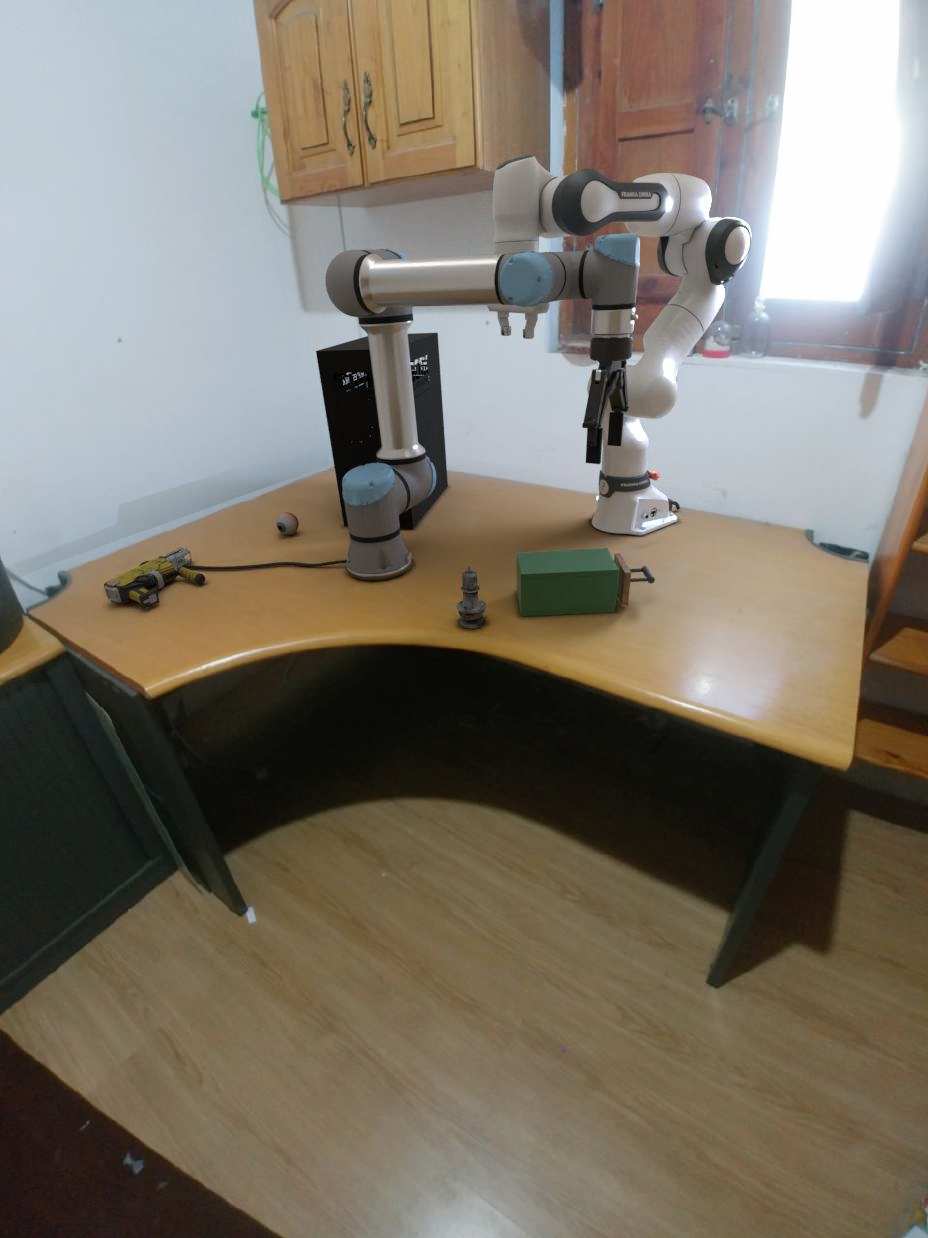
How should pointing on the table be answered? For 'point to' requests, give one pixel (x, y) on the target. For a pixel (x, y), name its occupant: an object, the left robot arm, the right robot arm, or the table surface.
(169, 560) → the toy gun
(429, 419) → the cardboard box
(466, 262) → the left robot arm
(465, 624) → the grey chess piece
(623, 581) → the drawer
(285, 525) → the eyeball
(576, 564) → the cabinet
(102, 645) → the table surface
